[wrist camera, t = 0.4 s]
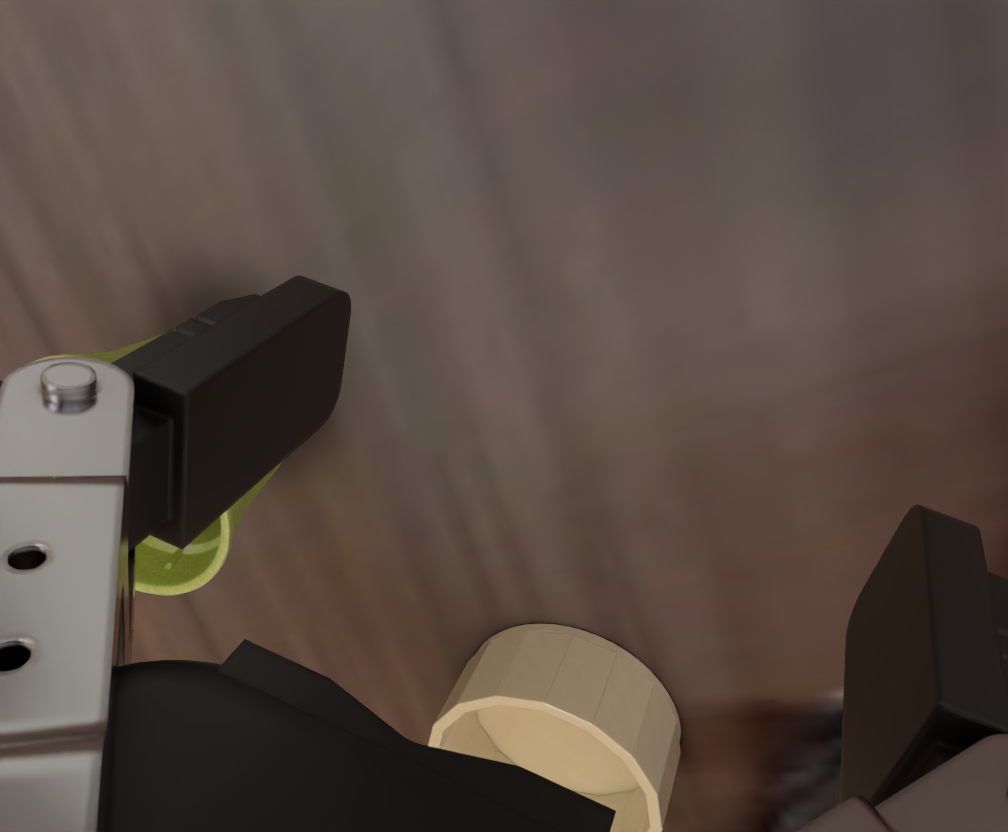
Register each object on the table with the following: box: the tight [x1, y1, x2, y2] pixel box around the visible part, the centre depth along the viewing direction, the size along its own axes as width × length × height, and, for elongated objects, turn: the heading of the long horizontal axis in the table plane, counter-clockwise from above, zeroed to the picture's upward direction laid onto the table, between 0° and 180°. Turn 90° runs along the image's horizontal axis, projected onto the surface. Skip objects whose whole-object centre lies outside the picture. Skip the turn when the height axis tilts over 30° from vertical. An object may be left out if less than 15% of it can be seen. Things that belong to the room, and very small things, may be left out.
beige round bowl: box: [428, 624, 681, 832], centre depth 39 cm, size 10×10×4 cm
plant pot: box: [34, 329, 285, 595], centre depth 34 cm, size 9×9×9 cm
